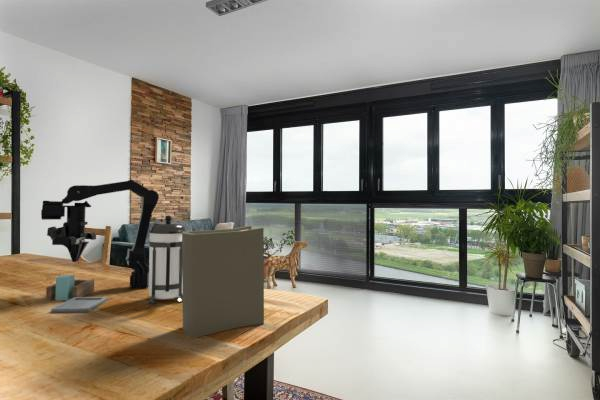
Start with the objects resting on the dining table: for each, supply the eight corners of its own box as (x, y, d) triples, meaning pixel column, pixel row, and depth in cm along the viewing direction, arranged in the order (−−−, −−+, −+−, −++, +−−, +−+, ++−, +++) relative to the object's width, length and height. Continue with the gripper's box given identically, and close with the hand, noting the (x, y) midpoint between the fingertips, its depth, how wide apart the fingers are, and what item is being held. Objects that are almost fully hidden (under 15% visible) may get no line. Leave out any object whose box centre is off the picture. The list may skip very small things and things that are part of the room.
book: (189, 341, 88) (188, 232, 88) (179, 329, 96) (179, 229, 96) (263, 323, 100) (263, 228, 100) (249, 314, 108) (249, 225, 108)
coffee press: (131, 302, 119) (133, 215, 119) (168, 291, 133) (170, 214, 133) (166, 310, 111) (168, 217, 111) (202, 298, 125) (204, 215, 125)
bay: (94, 291, 132) (94, 279, 132) (76, 300, 120) (77, 287, 120) (66, 291, 131) (66, 279, 131) (46, 300, 119) (46, 287, 119)
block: (74, 297, 123) (74, 274, 123) (67, 300, 119) (68, 277, 119) (62, 297, 123) (62, 274, 123) (55, 300, 119) (56, 277, 119)
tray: (107, 300, 120) (107, 296, 120) (88, 312, 107) (88, 308, 107) (74, 300, 119) (74, 297, 119) (51, 312, 106) (51, 308, 106)
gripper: (67, 217, 136) (66, 257, 136) (36, 220, 117) (35, 266, 117) (97, 218, 137) (96, 257, 137) (70, 221, 118) (69, 266, 118)
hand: (75, 261), depth 127 cm, fingers closed
